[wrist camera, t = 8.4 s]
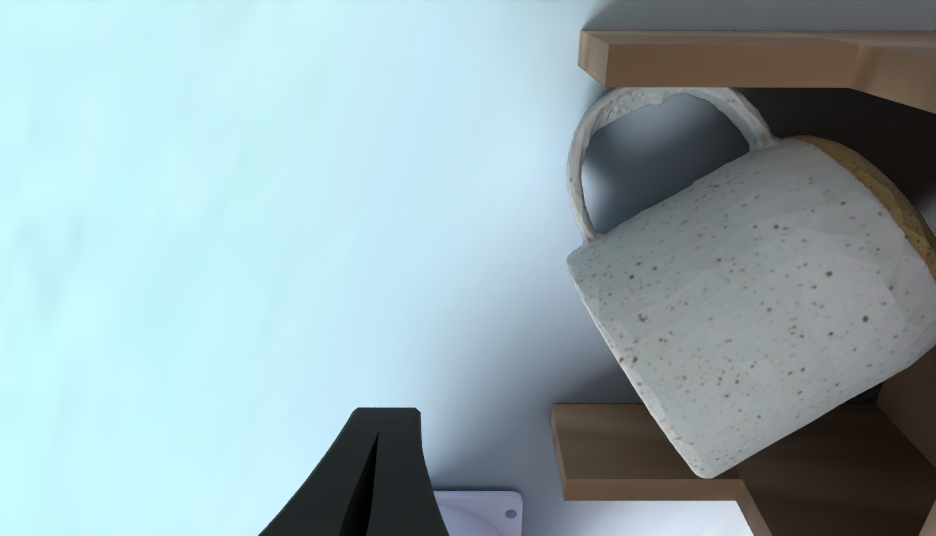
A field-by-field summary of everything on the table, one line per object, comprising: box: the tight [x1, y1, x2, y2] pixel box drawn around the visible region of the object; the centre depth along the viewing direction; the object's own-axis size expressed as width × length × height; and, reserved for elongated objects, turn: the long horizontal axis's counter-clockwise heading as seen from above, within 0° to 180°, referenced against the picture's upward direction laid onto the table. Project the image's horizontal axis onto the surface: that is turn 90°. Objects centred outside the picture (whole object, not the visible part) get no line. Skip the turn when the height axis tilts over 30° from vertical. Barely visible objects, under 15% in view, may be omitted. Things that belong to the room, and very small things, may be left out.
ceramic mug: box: [567, 87, 936, 479], centre depth 17 cm, size 11×8×8 cm
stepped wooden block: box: [550, 30, 936, 536], centre depth 16 cm, size 15×14×12 cm
